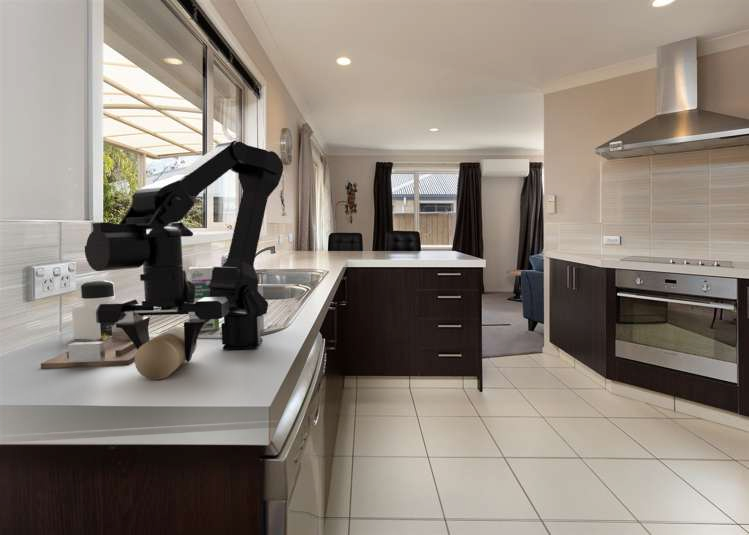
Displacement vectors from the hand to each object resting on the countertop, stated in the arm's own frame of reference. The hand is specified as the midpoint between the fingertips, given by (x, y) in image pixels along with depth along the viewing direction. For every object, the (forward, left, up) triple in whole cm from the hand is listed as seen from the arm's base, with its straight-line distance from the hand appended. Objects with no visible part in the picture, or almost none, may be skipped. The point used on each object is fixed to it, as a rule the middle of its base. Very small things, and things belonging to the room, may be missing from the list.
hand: (168, 361), depth 71 cm
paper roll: (0, 0, -1) cm, 1 cm away
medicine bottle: (+24, -27, -2) cm, 36 cm away
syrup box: (+3, -31, -2) cm, 31 cm away
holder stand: (+15, -12, -1) cm, 19 cm away
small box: (-7, -29, -2) cm, 30 cm away
